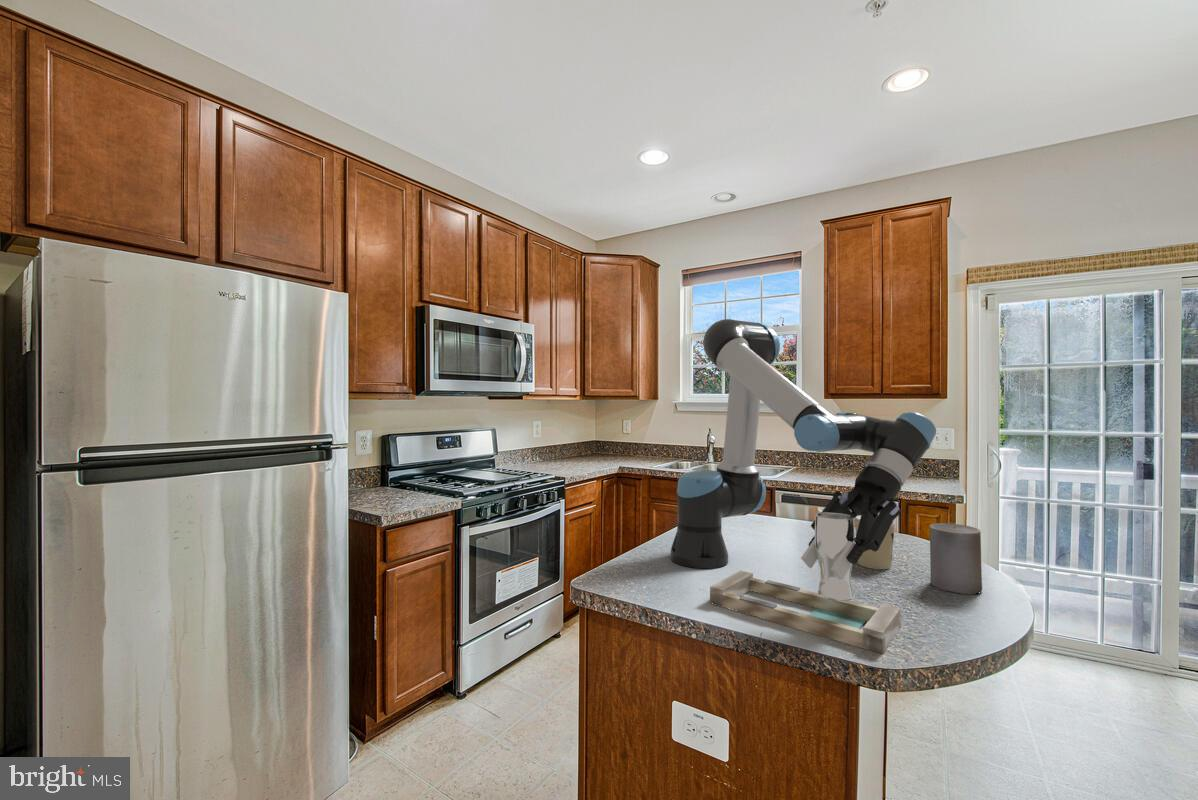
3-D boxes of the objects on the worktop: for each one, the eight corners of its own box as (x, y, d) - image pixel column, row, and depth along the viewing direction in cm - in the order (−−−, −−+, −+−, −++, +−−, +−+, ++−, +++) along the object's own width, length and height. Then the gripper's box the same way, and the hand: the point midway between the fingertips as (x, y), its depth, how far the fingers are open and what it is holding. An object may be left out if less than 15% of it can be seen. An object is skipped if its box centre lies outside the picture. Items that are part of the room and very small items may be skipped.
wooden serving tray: (709, 603, 105) (709, 586, 105) (740, 585, 115) (740, 570, 115) (882, 654, 83) (882, 632, 84) (900, 626, 94) (900, 607, 94)
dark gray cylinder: (960, 580, 121) (959, 517, 121) (993, 595, 111) (991, 526, 111) (920, 580, 120) (919, 517, 121) (949, 595, 111) (948, 527, 111)
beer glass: (815, 599, 93) (814, 517, 94) (814, 587, 100) (813, 511, 100) (858, 604, 91) (856, 520, 91) (854, 591, 97) (852, 513, 97)
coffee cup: (902, 570, 127) (902, 523, 127) (865, 570, 127) (865, 522, 128) (882, 559, 137) (882, 515, 137) (847, 559, 137) (848, 514, 137)
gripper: (940, 497, 92) (877, 599, 86) (851, 483, 110) (793, 566, 104) (920, 469, 90) (854, 571, 84) (833, 459, 108) (773, 542, 102)
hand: (820, 568), depth 94 cm, fingers closed on beer glass, 6 cm apart
